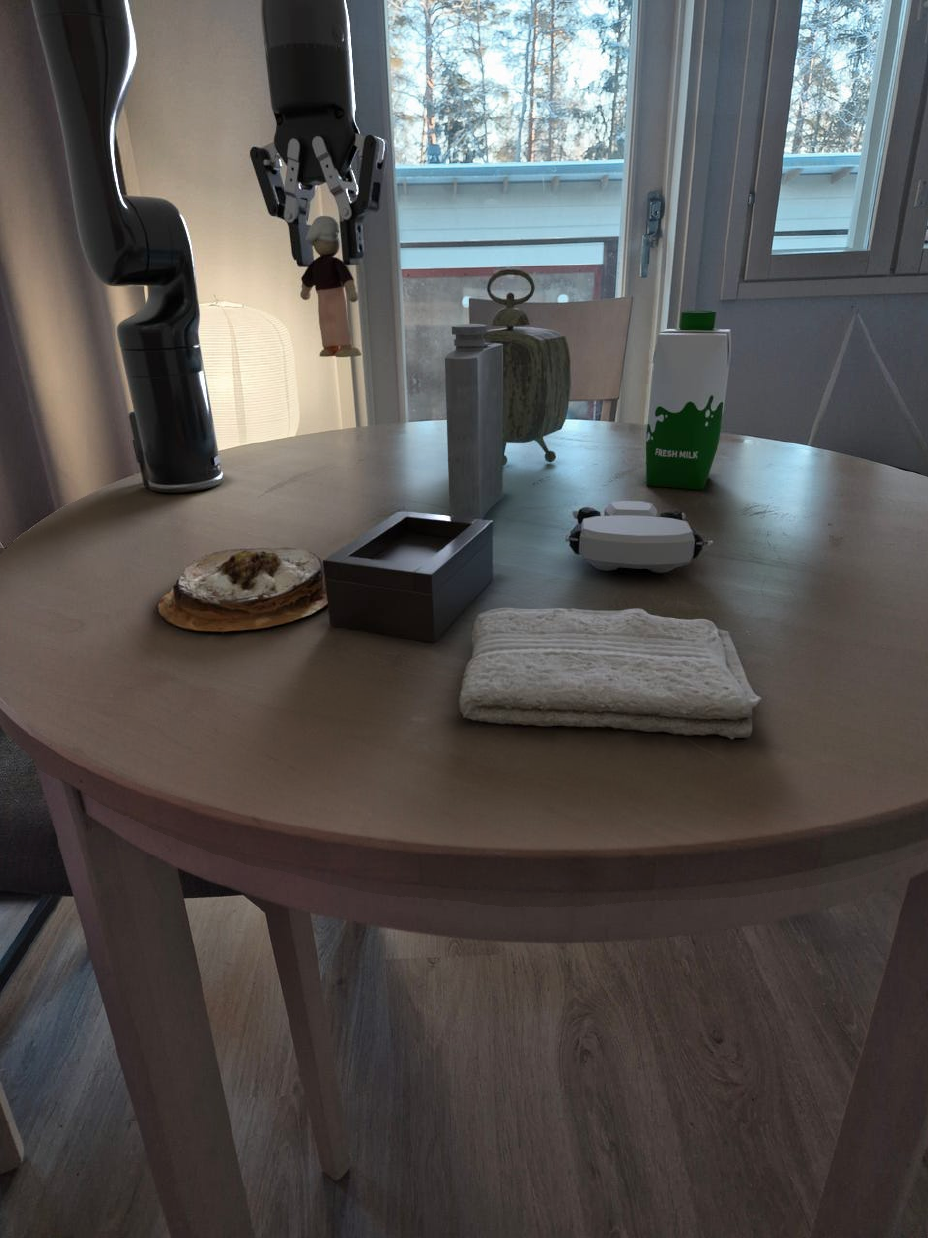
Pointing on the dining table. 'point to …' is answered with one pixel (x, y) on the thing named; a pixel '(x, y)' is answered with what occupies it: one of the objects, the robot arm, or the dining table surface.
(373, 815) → the dining table surface
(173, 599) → the cream topped tart
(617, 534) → the robot toy
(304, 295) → the grandmother figurine
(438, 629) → the box with recessed lid
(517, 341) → the tabletop clock
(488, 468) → the hip flask
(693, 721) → the washcloth
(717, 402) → the milk carton
